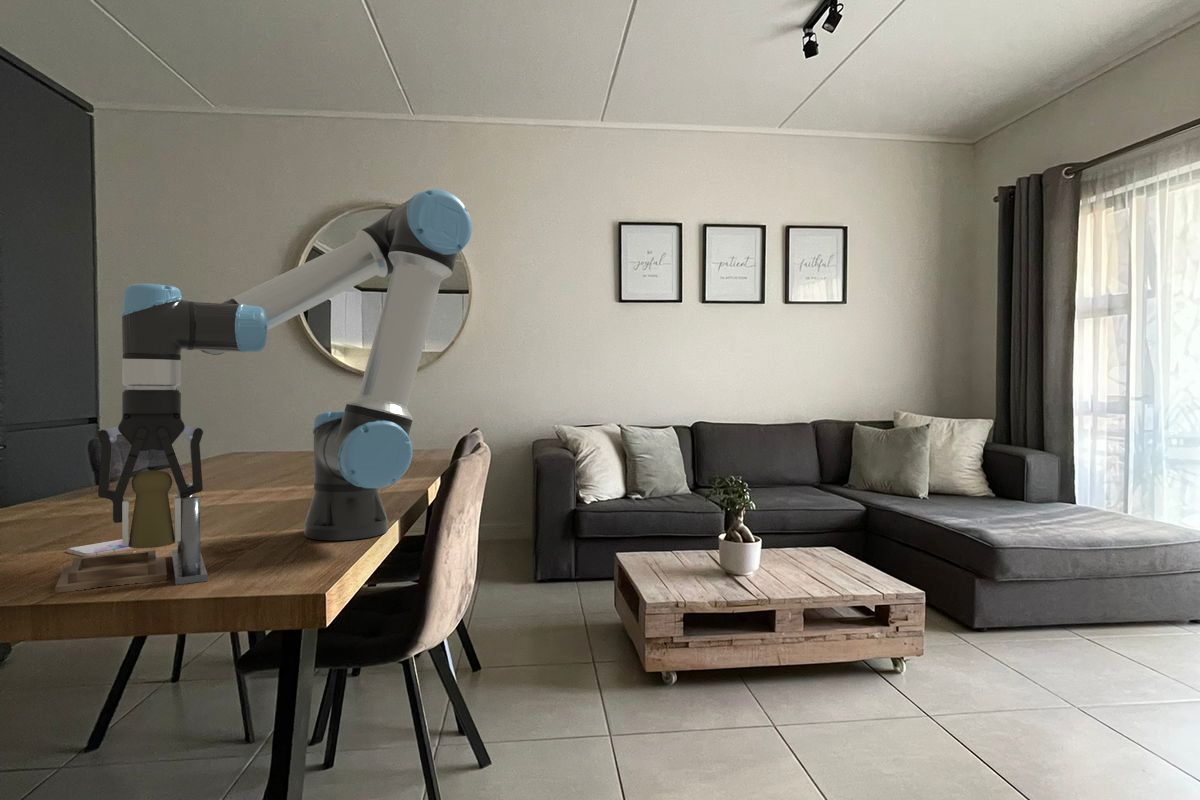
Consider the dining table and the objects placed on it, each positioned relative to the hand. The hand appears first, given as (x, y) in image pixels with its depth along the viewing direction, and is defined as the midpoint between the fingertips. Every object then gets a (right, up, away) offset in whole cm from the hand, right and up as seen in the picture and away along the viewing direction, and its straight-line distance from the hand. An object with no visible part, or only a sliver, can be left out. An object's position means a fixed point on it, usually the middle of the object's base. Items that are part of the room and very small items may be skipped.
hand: (152, 541), depth 111 cm
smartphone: (-16, -5, +18) cm, 24 cm away
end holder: (-4, -5, -2) cm, 7 cm away
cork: (0, -1, 0) cm, 1 cm away
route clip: (+4, -5, +3) cm, 7 cm away
